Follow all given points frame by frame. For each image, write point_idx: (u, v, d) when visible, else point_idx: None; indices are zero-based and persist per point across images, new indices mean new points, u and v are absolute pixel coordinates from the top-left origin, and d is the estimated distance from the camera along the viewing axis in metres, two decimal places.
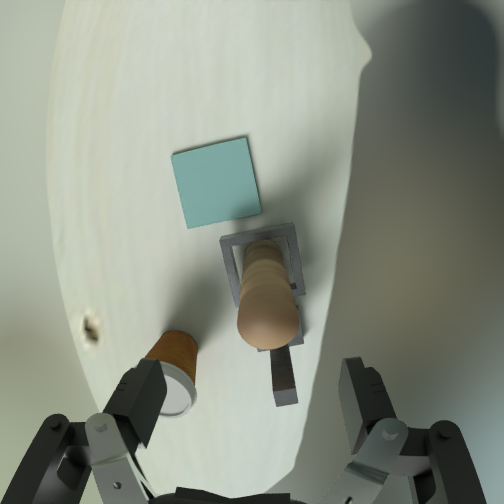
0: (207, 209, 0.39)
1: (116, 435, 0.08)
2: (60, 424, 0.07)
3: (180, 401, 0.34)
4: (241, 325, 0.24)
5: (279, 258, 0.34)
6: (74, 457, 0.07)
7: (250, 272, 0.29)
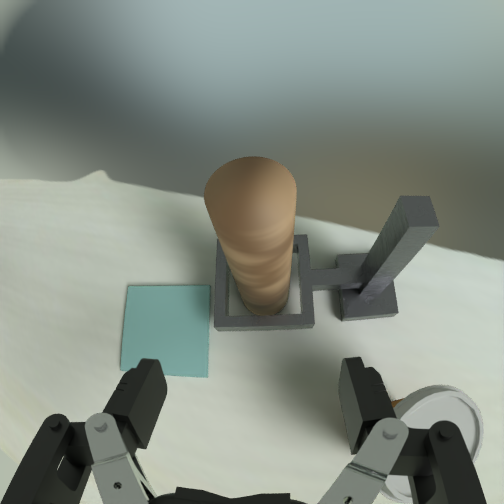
0: (189, 346, 0.30)
1: (116, 435, 0.08)
2: (60, 424, 0.07)
3: (451, 412, 0.15)
4: (243, 224, 0.15)
5: None
6: (74, 457, 0.07)
7: (227, 261, 0.22)
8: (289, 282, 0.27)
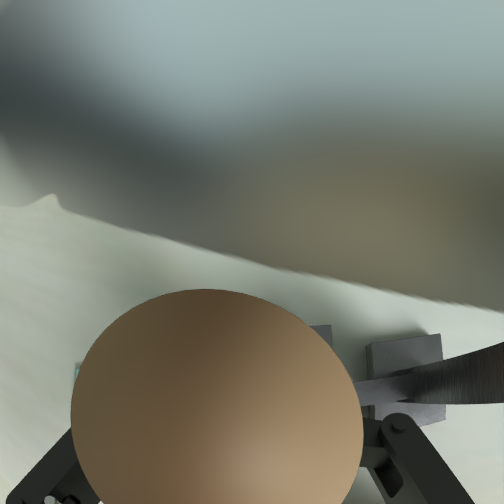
0: None
1: None
2: None
3: None
4: None
5: None
6: None
7: None
8: None
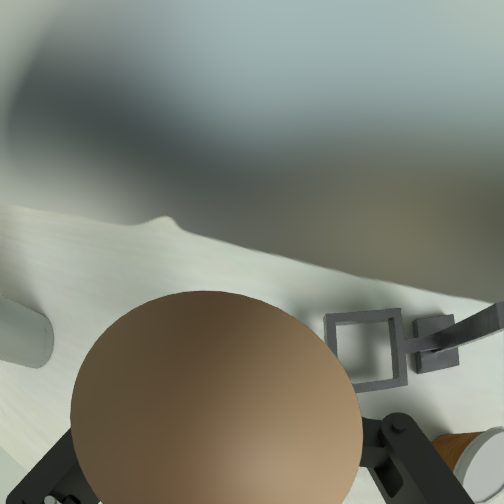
0: None
1: None
2: None
3: (503, 444, 0.16)
4: None
5: None
6: None
7: None
8: None
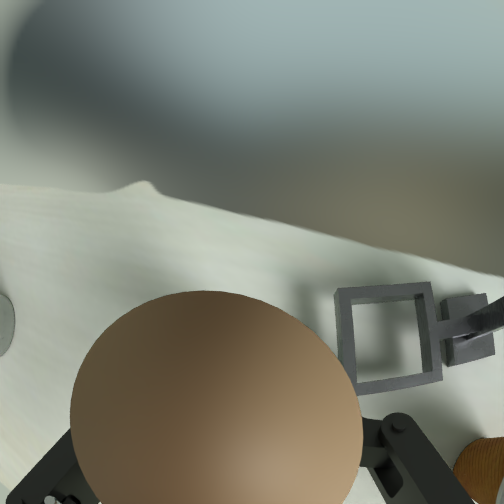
0: None
1: None
2: None
3: None
4: None
5: None
6: None
7: None
8: None
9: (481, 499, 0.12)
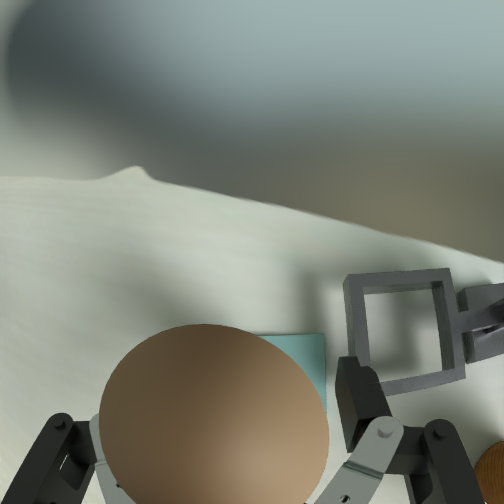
0: None
1: None
2: (64, 423, 0.08)
3: None
4: None
5: None
6: (78, 456, 0.07)
7: None
8: None
9: None
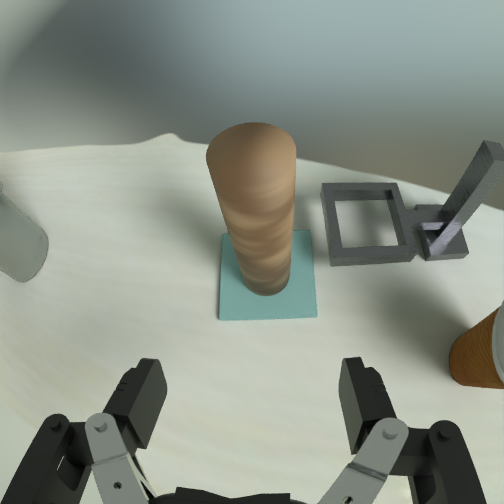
0: (296, 286, 0.31)
1: (116, 435, 0.08)
2: (60, 424, 0.07)
3: None
4: (244, 180, 0.15)
5: None
6: (74, 457, 0.07)
7: (228, 230, 0.22)
8: (290, 258, 0.27)
9: (480, 369, 0.19)
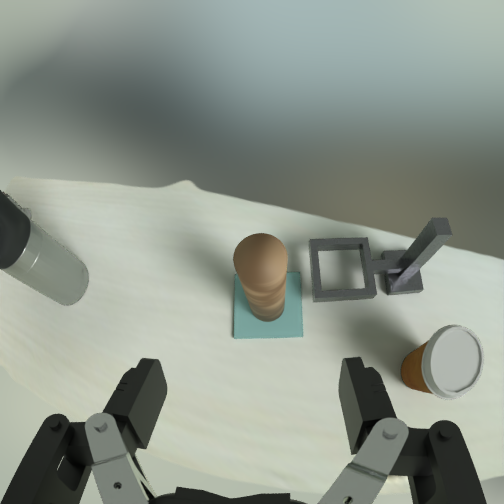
0: (288, 315, 0.43)
1: (116, 435, 0.08)
2: (60, 424, 0.07)
3: (463, 339, 0.28)
4: (257, 279, 0.27)
5: None
6: (74, 457, 0.07)
7: (244, 291, 0.34)
8: (284, 300, 0.39)
9: (417, 379, 0.31)
